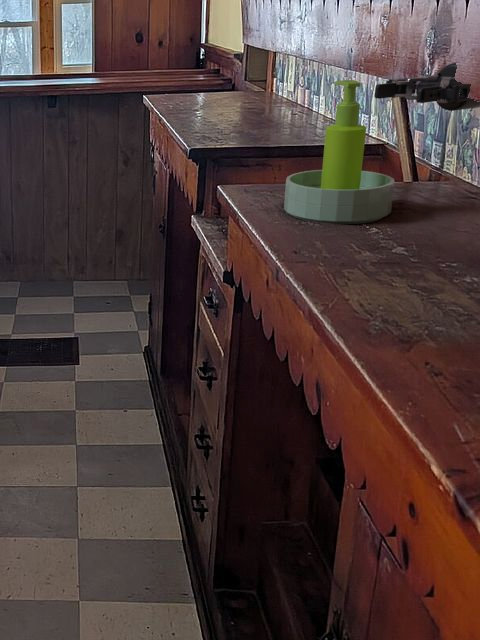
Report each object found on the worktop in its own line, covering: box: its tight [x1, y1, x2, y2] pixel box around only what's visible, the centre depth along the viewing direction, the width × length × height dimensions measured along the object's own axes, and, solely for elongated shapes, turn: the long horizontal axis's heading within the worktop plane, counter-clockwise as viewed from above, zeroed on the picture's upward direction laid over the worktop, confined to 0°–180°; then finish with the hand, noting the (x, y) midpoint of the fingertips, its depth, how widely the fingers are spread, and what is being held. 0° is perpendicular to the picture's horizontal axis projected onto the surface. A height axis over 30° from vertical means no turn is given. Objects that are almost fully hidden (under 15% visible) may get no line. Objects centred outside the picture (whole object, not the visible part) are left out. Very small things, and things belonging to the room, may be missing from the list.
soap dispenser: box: [321, 79, 367, 189], centre depth 137 cm, size 6×7×20 cm
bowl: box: [283, 169, 396, 225], centre depth 140 cm, size 16×16×6 cm
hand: (397, 93), depth 137 cm, fingers open, 8 cm apart
